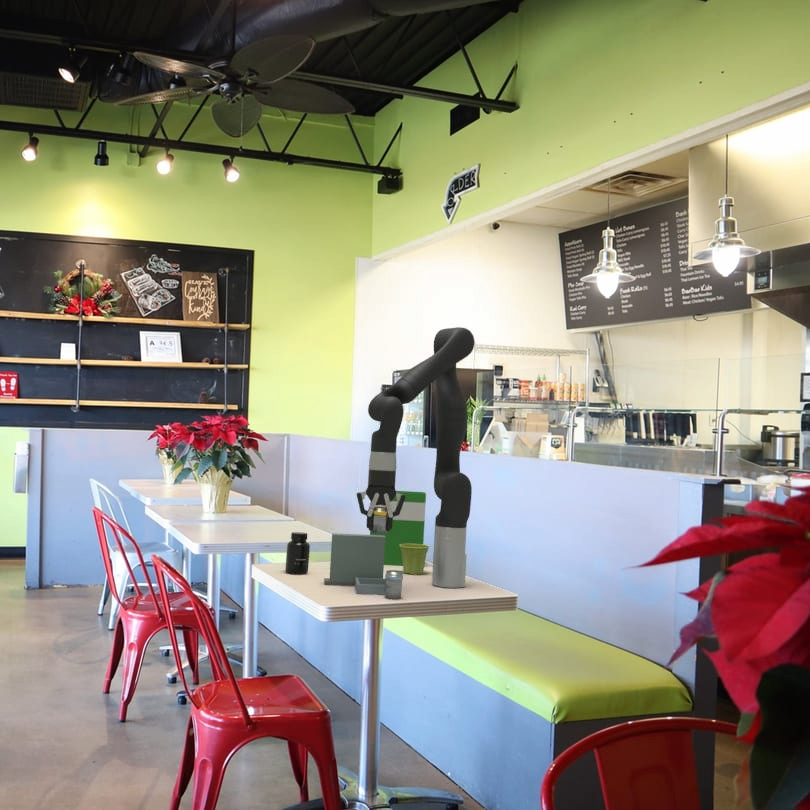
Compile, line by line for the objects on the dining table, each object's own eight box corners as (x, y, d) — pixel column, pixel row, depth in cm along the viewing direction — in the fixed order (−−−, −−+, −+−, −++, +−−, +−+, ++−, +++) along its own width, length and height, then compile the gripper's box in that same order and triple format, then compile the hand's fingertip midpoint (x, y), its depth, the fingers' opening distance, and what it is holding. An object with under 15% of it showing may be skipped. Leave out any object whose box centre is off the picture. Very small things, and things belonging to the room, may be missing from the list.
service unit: (386, 584, 265) (389, 535, 265) (388, 587, 260) (390, 537, 260) (324, 581, 263) (326, 532, 263) (324, 584, 258) (327, 534, 258)
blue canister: (400, 596, 246) (402, 570, 246) (402, 600, 242) (403, 573, 242) (383, 596, 246) (385, 569, 246) (385, 599, 241) (386, 572, 241)
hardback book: (368, 564, 301) (372, 490, 301) (368, 560, 308) (372, 489, 309) (422, 567, 301) (426, 493, 302) (421, 563, 308) (425, 492, 309)
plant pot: (401, 575, 281) (403, 547, 282) (395, 570, 291) (396, 543, 291) (431, 576, 284) (432, 547, 284) (423, 571, 293) (425, 543, 293)
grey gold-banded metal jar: (387, 533, 251) (389, 508, 251) (371, 533, 251) (372, 507, 251) (386, 531, 256) (387, 506, 256) (370, 531, 255) (371, 506, 256)
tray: (393, 588, 259) (394, 579, 259) (397, 595, 248) (397, 586, 248) (354, 586, 258) (355, 577, 258) (356, 593, 247) (357, 584, 247)
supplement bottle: (299, 575, 271) (301, 535, 271) (280, 572, 274) (283, 532, 275) (312, 573, 277) (315, 533, 277) (294, 570, 280) (296, 530, 281)
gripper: (406, 469, 258) (403, 530, 258) (356, 466, 257) (352, 527, 256) (409, 470, 251) (406, 533, 250) (357, 467, 249) (353, 531, 249)
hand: (378, 530), depth 253 cm, fingers closed on grey gold-banded metal jar, 4 cm apart
